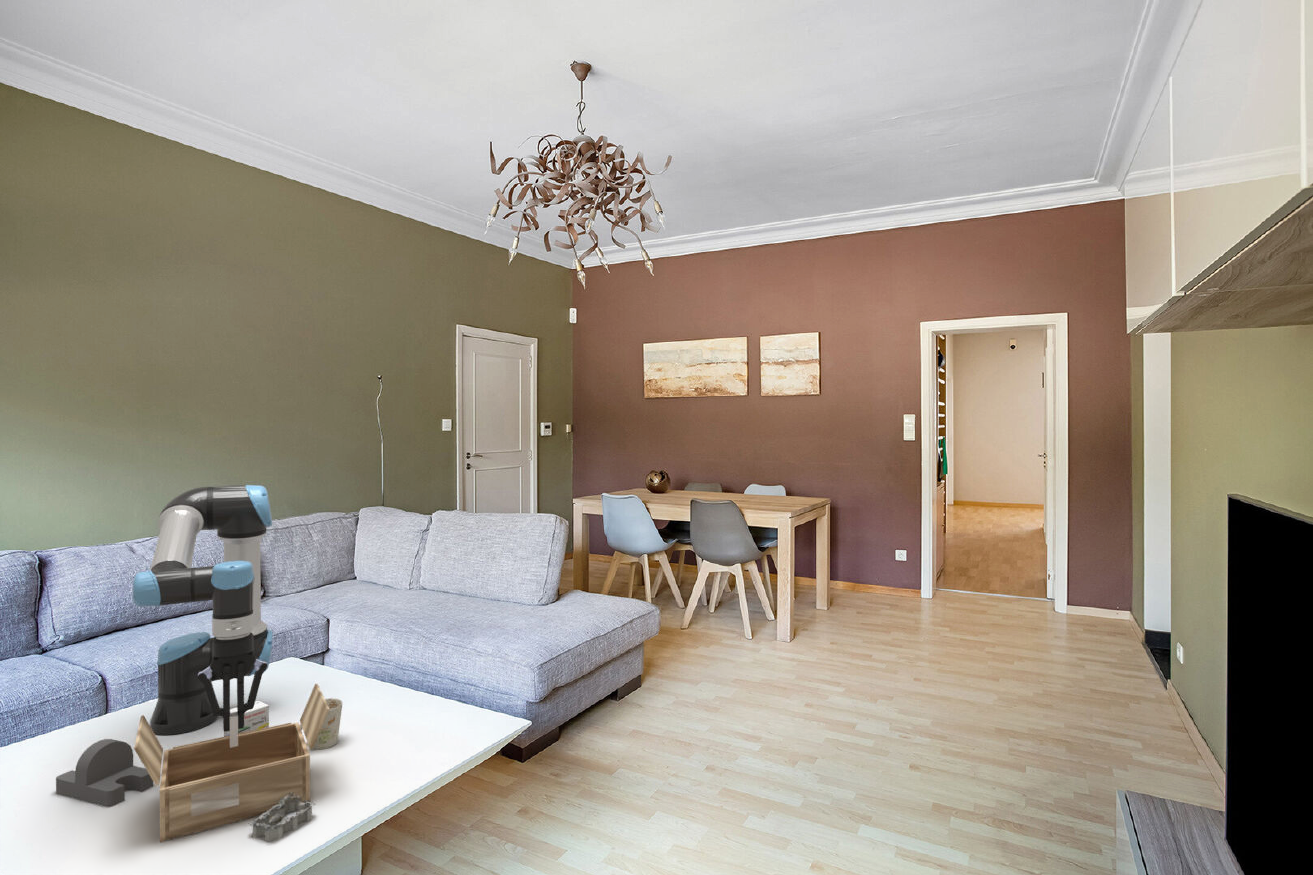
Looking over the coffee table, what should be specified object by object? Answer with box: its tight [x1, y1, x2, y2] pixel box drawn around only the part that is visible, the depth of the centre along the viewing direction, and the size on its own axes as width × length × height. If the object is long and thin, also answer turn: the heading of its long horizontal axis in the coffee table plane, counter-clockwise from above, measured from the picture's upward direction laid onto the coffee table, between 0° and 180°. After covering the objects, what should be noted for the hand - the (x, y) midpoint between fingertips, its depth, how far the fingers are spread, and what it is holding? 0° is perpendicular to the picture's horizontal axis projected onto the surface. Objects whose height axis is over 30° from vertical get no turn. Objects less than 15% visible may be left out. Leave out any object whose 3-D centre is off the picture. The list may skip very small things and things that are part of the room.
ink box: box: [223, 700, 270, 737], centre depth 168 cm, size 8×5×12 cm, turn 147°
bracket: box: [55, 738, 154, 808], centre depth 152 cm, size 10×18×11 cm, turn 71°
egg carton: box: [248, 792, 316, 842], centre depth 138 cm, size 11×8×4 cm
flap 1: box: [133, 714, 164, 787], centre depth 139 cm, size 18×9×1 cm
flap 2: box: [299, 683, 329, 751], centre depth 156 cm, size 18×9×1 cm
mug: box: [299, 698, 343, 750], centre depth 172 cm, size 8×13×10 cm, turn 161°
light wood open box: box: [159, 721, 311, 843], centre depth 148 cm, size 22×26×10 cm
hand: (233, 744), depth 147 cm, fingers closed
